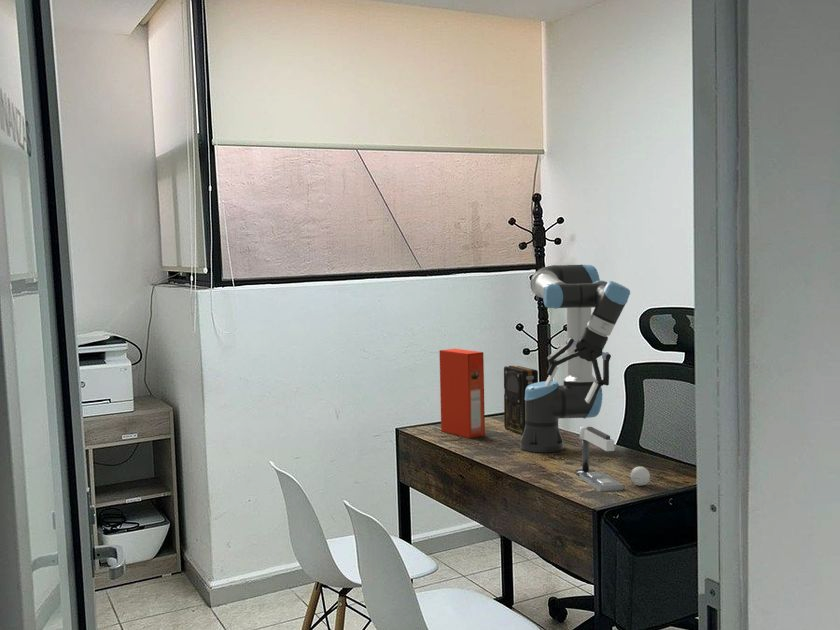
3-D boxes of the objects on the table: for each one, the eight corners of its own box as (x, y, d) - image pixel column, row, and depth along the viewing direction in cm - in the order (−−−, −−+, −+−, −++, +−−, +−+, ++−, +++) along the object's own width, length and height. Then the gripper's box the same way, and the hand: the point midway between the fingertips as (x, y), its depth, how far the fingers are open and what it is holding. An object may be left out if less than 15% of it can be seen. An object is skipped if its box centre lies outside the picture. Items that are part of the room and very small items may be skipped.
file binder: (468, 438, 324) (467, 353, 322) (440, 431, 338) (439, 350, 336) (484, 435, 329) (484, 352, 327) (456, 428, 343) (455, 348, 341)
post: (573, 472, 272) (572, 438, 271) (590, 471, 273) (590, 437, 272) (580, 477, 266) (580, 442, 265) (598, 475, 267) (598, 441, 266)
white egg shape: (626, 484, 257) (626, 465, 257) (643, 482, 259) (643, 463, 259) (640, 490, 250) (640, 471, 250) (657, 488, 252) (657, 469, 251)
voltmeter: (501, 428, 341) (501, 365, 340) (520, 426, 345) (520, 364, 343) (521, 436, 327) (520, 370, 325) (541, 433, 330) (540, 369, 329)
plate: (579, 477, 265) (579, 471, 265) (600, 476, 266) (600, 470, 266) (600, 491, 249) (600, 485, 249) (622, 489, 251) (622, 483, 251)
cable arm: (577, 437, 270) (577, 424, 270) (588, 437, 271) (588, 423, 270) (604, 452, 250) (604, 437, 249) (616, 451, 250) (616, 437, 250)
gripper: (562, 319, 253) (531, 382, 258) (637, 350, 257) (606, 412, 261) (557, 312, 261) (528, 374, 265) (631, 343, 264) (600, 404, 268)
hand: (566, 393), depth 263 cm, fingers open, 13 cm apart
